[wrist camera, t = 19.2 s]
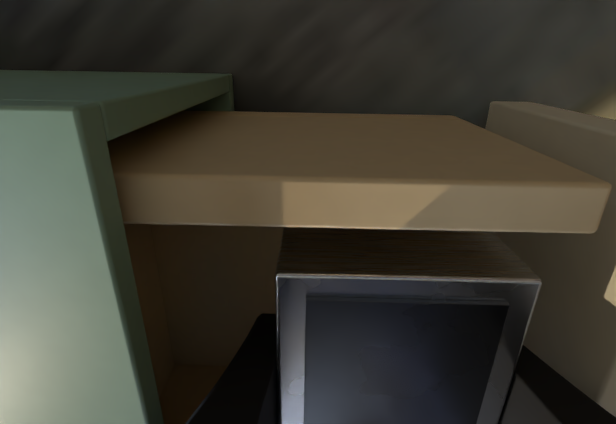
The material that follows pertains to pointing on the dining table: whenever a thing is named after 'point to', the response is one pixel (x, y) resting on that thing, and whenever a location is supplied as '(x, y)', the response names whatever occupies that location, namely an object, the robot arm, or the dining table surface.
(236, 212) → the drawer
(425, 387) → the grey framed box
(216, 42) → the dining table surface
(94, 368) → the cabinet
